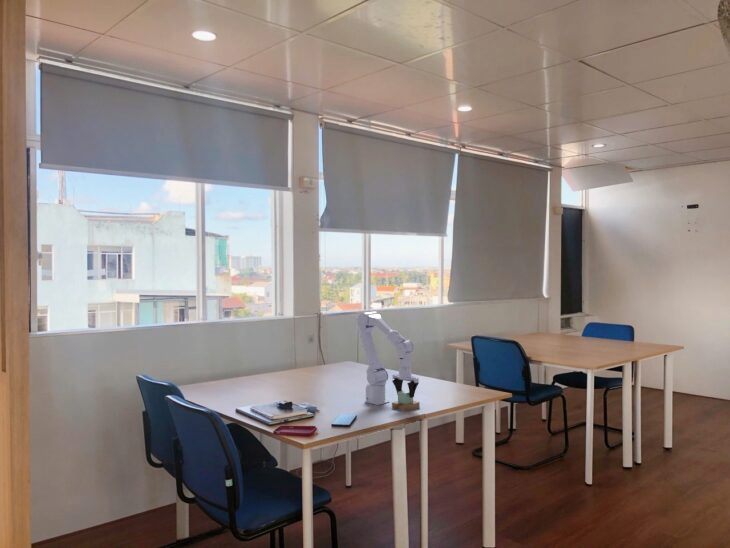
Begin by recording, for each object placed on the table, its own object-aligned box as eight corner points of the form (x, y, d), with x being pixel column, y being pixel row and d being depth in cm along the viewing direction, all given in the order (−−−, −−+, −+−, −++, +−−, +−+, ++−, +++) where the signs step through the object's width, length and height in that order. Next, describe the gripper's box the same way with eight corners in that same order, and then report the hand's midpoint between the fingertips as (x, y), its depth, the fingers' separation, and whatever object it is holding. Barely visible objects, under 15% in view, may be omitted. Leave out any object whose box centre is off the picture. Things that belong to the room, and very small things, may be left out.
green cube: (398, 402, 269) (397, 391, 269) (405, 400, 273) (405, 389, 273) (405, 404, 266) (405, 393, 266) (413, 402, 269) (413, 391, 269)
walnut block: (392, 409, 269) (391, 402, 269) (405, 405, 276) (405, 399, 276) (406, 412, 263) (406, 405, 263) (419, 408, 269) (419, 402, 269)
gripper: (422, 367, 267) (423, 397, 267) (399, 363, 277) (399, 392, 277) (412, 369, 262) (413, 399, 262) (389, 366, 272) (389, 394, 272)
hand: (405, 396), depth 269 cm, fingers open, 7 cm apart
